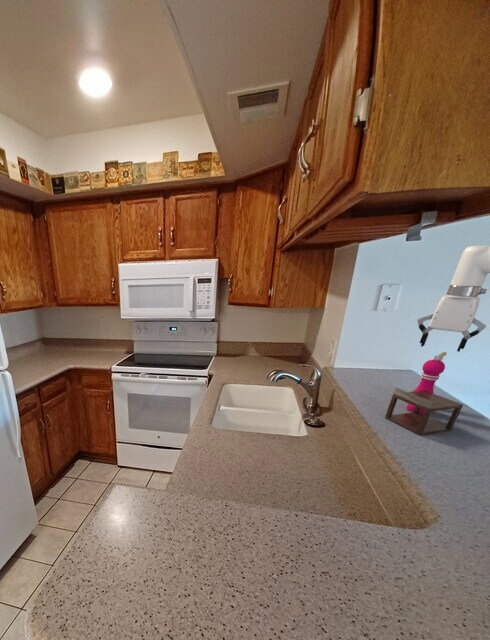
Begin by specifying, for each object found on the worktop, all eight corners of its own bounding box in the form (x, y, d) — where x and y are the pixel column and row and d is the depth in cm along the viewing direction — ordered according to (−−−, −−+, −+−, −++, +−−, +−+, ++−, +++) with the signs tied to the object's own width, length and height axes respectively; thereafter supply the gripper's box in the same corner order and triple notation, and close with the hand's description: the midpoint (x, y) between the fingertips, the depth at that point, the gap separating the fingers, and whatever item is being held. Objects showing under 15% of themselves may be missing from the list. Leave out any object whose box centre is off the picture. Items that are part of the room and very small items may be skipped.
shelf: (414, 414, 116) (426, 384, 110) (451, 430, 104) (466, 398, 99) (384, 418, 113) (395, 387, 108) (418, 435, 102) (432, 402, 96)
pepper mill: (427, 416, 114) (450, 359, 104) (402, 410, 118) (423, 355, 109) (430, 409, 119) (453, 355, 109) (406, 404, 123) (426, 351, 113)
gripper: (500, 293, 97) (474, 350, 105) (430, 289, 107) (410, 342, 116) (501, 295, 92) (473, 355, 101) (426, 291, 102) (407, 345, 111)
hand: (439, 348), depth 108 cm, fingers open, 9 cm apart
